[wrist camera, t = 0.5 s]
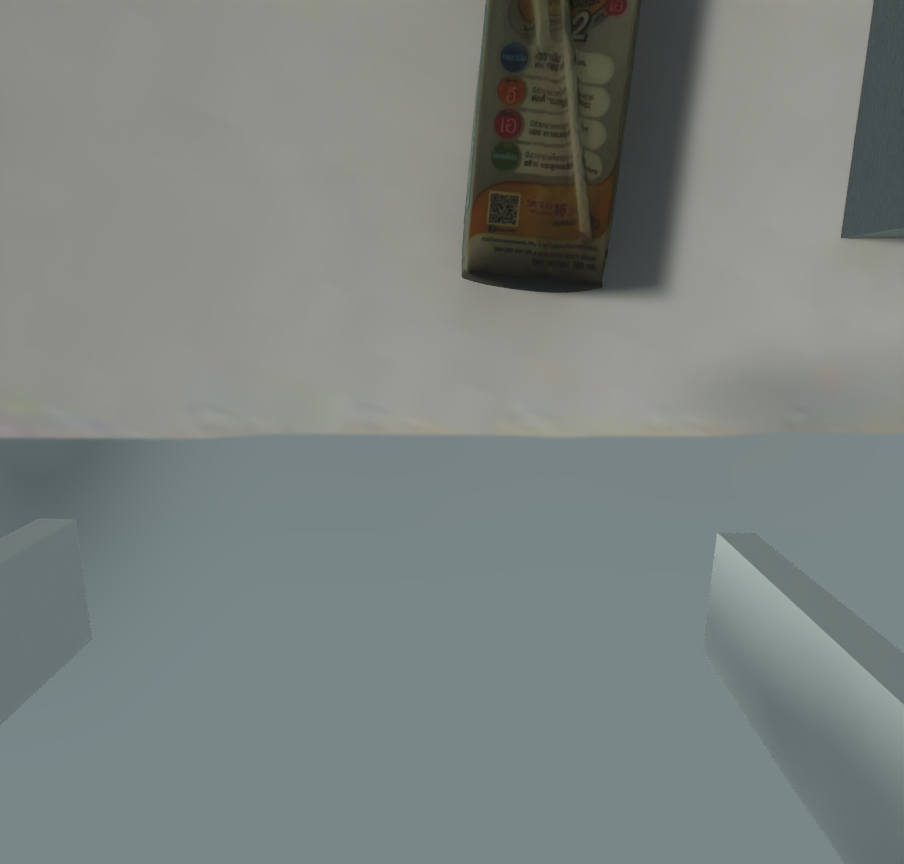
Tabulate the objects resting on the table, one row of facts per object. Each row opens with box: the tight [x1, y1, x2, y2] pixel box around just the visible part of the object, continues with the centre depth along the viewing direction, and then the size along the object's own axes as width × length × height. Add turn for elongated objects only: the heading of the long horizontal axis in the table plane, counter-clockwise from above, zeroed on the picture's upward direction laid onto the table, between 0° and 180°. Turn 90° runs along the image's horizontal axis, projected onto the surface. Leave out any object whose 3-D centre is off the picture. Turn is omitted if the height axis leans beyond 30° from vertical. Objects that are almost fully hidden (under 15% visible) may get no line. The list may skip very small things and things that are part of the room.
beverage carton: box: [462, 0, 641, 292], centre depth 32 cm, size 8×19×7 cm, turn 175°
